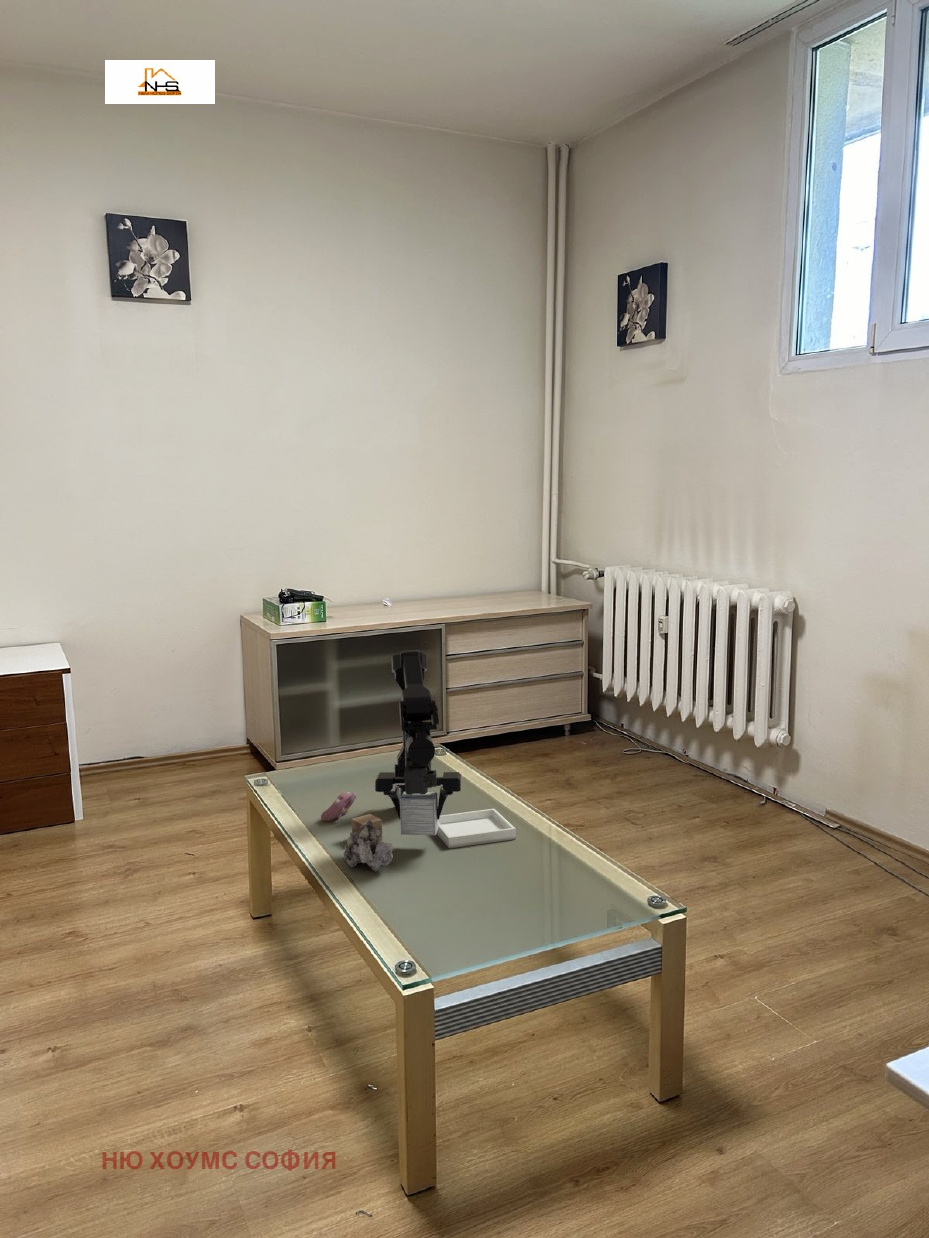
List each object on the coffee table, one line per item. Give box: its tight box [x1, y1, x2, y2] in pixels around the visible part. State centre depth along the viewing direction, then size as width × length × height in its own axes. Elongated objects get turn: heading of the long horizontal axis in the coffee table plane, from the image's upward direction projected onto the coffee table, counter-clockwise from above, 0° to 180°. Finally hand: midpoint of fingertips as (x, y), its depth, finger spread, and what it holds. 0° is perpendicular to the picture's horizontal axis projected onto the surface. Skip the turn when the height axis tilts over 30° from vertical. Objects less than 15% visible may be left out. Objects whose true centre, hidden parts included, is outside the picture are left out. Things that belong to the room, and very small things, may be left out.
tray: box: [436, 808, 517, 849], centre depth 215 cm, size 14×16×2 cm
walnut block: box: [351, 813, 383, 842], centre depth 211 cm, size 5×5×5 cm
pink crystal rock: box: [320, 791, 357, 822], centre depth 227 cm, size 10×5×7 cm, turn 162°
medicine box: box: [399, 791, 439, 836], centre depth 205 cm, size 8×4×9 cm, turn 84°
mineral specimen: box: [343, 820, 396, 873], centre depth 197 cm, size 13×10×11 cm
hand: (419, 818), depth 205 cm, fingers closed on medicine box, 8 cm apart
